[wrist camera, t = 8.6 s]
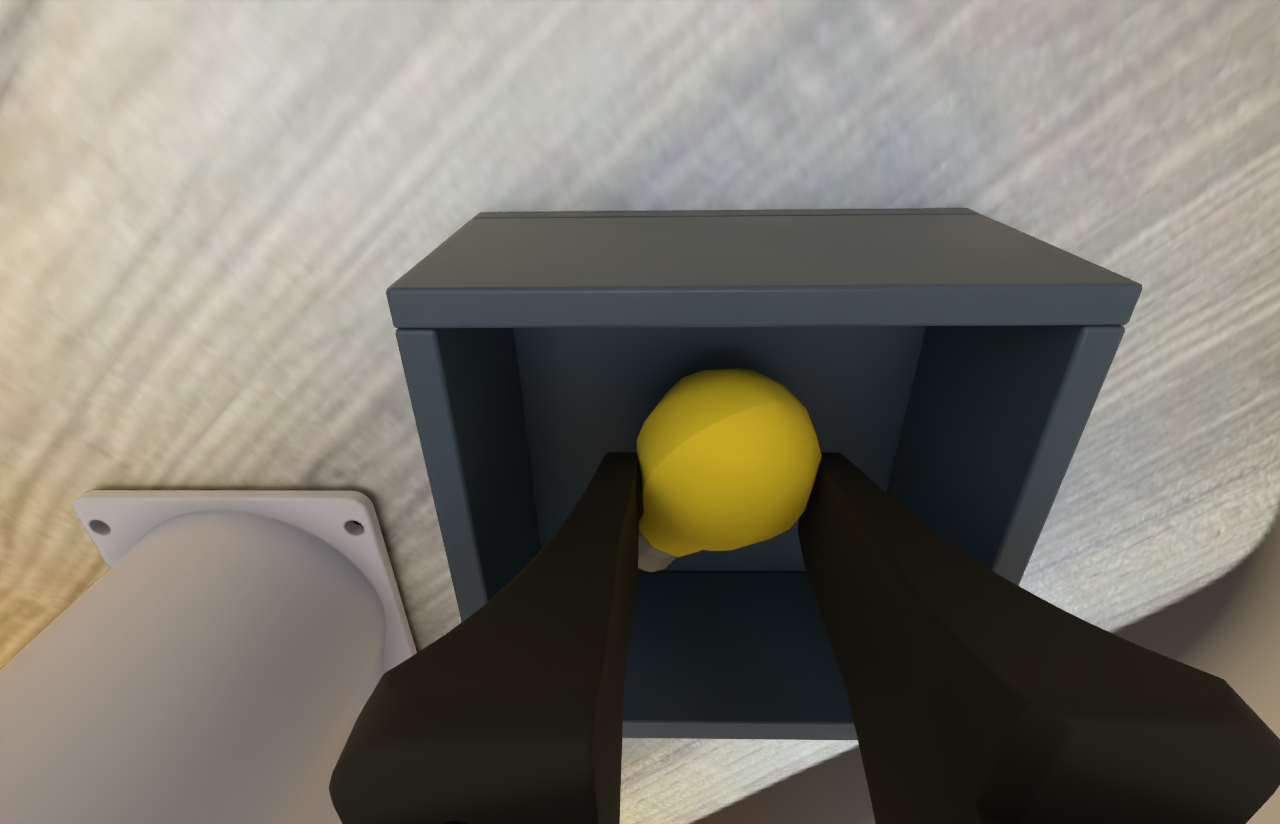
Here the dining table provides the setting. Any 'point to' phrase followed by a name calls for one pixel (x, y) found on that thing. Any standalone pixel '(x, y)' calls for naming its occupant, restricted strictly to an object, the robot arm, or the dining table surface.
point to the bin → (778, 348)
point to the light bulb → (722, 465)
